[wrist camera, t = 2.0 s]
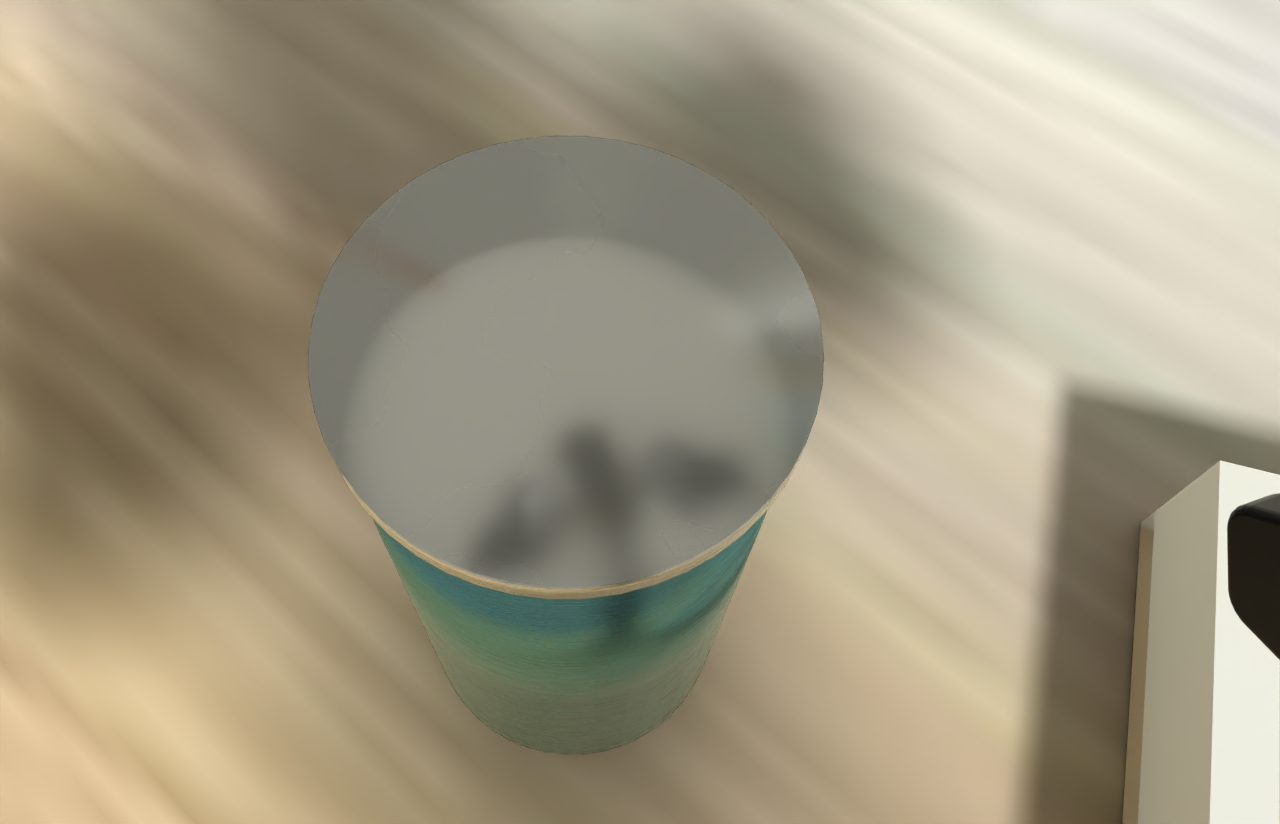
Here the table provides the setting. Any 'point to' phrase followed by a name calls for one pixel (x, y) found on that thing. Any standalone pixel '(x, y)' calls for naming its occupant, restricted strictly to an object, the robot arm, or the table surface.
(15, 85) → the table surface
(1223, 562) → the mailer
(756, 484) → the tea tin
